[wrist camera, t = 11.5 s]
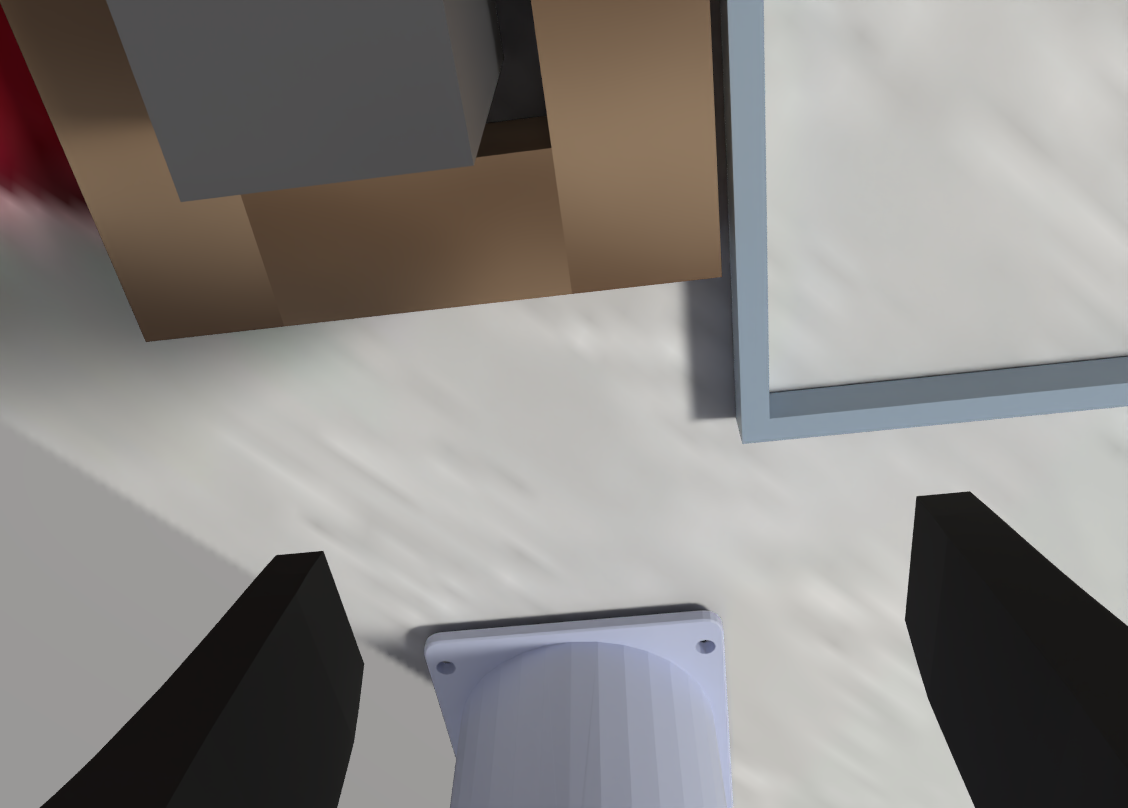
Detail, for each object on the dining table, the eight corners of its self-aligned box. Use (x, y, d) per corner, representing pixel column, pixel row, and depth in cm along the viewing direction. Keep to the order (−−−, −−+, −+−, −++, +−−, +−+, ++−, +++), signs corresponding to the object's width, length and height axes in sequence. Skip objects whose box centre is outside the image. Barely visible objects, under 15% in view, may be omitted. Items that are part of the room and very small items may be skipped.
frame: (1306, 361, 20) (1337, 385, 20) (736, 418, 21) (742, 443, 21) (1557, -360, 14) (1621, -370, 13) (711, -227, 15) (719, -229, 14)
